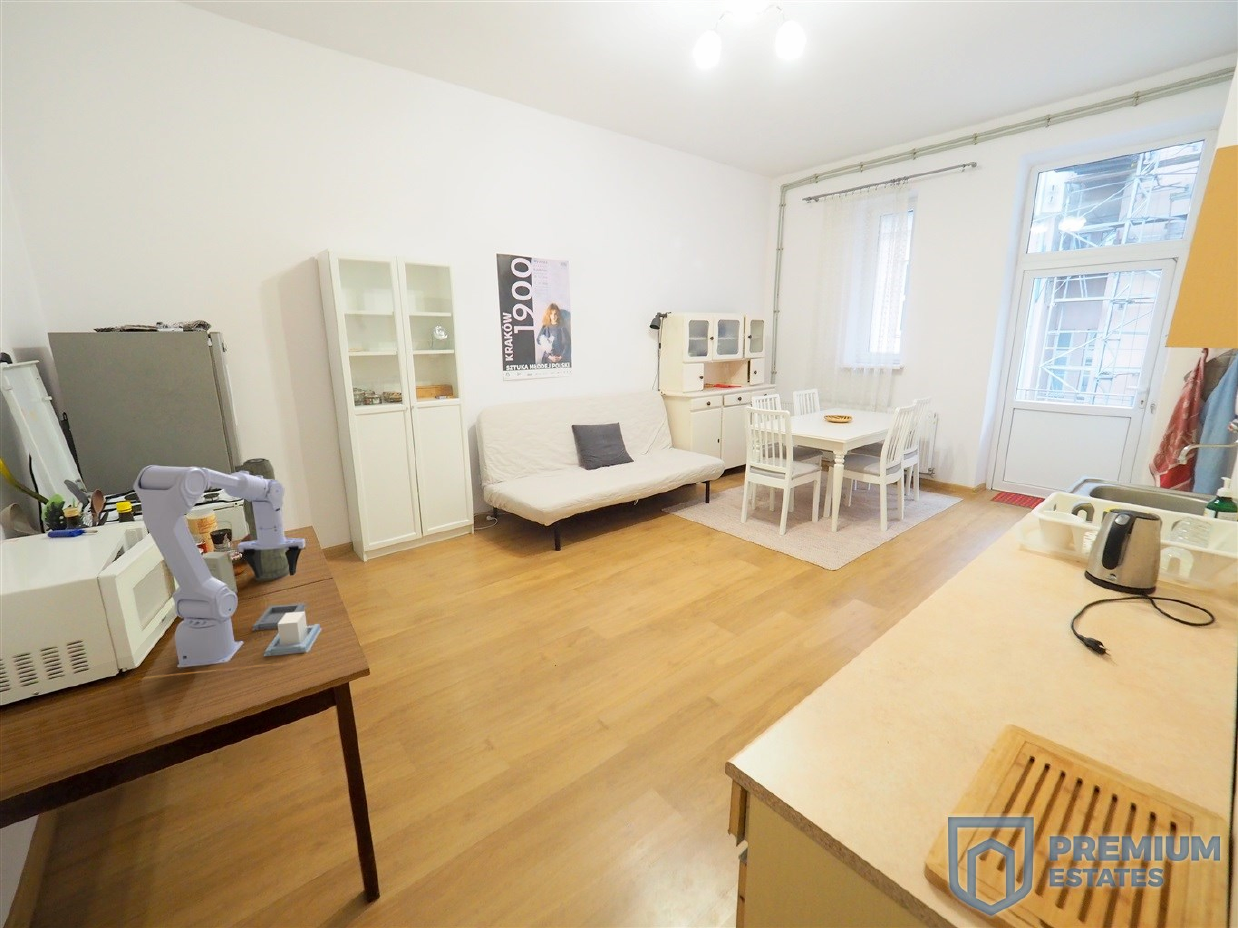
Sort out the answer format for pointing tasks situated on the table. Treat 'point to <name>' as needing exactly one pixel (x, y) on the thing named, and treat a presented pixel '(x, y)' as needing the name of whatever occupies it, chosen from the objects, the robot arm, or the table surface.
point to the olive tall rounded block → (270, 558)
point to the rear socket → (276, 615)
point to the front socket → (298, 648)
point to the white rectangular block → (292, 628)
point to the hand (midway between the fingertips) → (276, 575)
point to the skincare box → (221, 568)
